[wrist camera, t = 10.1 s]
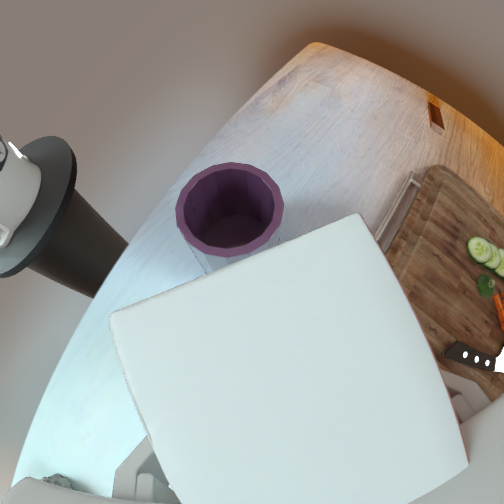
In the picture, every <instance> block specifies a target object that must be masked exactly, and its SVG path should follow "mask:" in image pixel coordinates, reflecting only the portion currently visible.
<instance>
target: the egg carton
mask: <svg viewBox="0 0 504 504" xmlns="http://www.w3.org/2000/svg"><path fill="white" fill-rule="evenodd" d="M41 481H44V482H47V483H50V484H53V485H57V486H60V487H64V488H68V489H72V487H71V482H70V481H69V480H68V479H67V478H66V477H61V476H60V475H59V474H58V473H57V474H55V475H52V476H50V477H48V478H47V477H43V478H42V479H41ZM72 490H73V489H72Z"/></svg>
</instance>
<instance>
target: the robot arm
mask: <svg viewBox="0 0 504 504" xmlns="http://www.w3.org/2000/svg"><path fill="white" fill-rule="evenodd" d="M9 144H10V145H11V146H10V145H9ZM9 144H8V143H7V142H5V141H4V140H3V139H2V137H1V135H0V248H5V247H6V246H7V245H8V243H9V242H10V240H11V237H12V235H13V233H14V231H15V230H16V229H17V227H18V226H19V225H20V224H21V222H22V221H23V220H24V219H25V217H26V216H27V214H28V213H29V211H30V209H31V207H32V206H33V204H34V202H35V199H36V197H37V194H38V192H39V188H40V184H41V171H40V168H39V167H38V166H37V165H35V164H33V163H32V162H30V160H29V158H28V157H27V156H25V155H23V156H22V154H21V153H20V152H19V151H18V150H17V149H16V148H15V147H14V146H13V145H12V144H11V143H10V142H9ZM440 370H441V373H442V376H443V379H444V381H445V384H446V386H447V389H448V391H449V394H450V397H451V400H452V402H453V405H454V408H455V411H456V414H457V418H458V421H459V424H460V428H461V431H462V435H463V438H464V442H465V446H466V449H467V453H468V457H469V466H468V467H467V468H465V469H464V470H463V471H461V472H460V473H458V474H457V475H455V476H454V477H452V478H451V479H449V480H448V481H446V482H445V483H443V484H442V485H440V486H438V487H437V488H435V489H433V490H432V491H430V492H428V493H426V494H424V495H423V496H421V497H419V498H417V499H415V500H413V501H411V502H409V503H407V504H504V393H503V394H502V395H501V396H499V397H498V398H497V399H495V400H494V401H493V402H491V401H490V400H489V398H488V397H487V396H486V394H485V393H484V392H483V391H482V389H481V388H480V387H479V386H478V384H477V383H476V382H474V381H471V380H468V379H465V378H463V377H460V376H457V375H455V374H452V373H450V372H447V371H444V370H442V369H440ZM168 485H169V482H168V480H167V479H166V476H165V474H164V472H163V470H162V468H161V466H160V463H159V461H158V459H157V456H156V454H155V452H154V449H153V447H152V445H151V443H150V440H149V438H148V436H146V437H145V438H144V439H143V440H142V441H141V443H140V444H139V445H138V446H137V447H136V448H135V449H134V450H133V452H132V453H131V454H130V455H129V456H128V457H127V458H126V459H125V460H124V462H123V463H122V464H121V465H120V466H119V467H118V468H117V469H116V472H115V479H114V485H113V493H112V498H111V497H105V496H99V495H94V494H89V493H84V492H80V491H76V490H72V489H68V488H64V487H60V486H57V485H53V484H50V483H47V482H44V481H41V480H38V479H35V478H32V477H26V478H24V479H22V480H21V481H19V482H18V483H17V484H15V485H14V486H13V487H12V488H11V489H9V490H8V491H7V492H6V494H5V495H4V497H3V499H2V502H1V504H180V500H179V499H178V497H177V496H176V494H175V492H174V491H173V490H172V489H170V488H169V487H168Z"/></svg>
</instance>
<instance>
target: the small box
mask: <svg viewBox="0 0 504 504" xmlns="http://www.w3.org/2000/svg"><path fill="white" fill-rule="evenodd" d="M109 324H110V331H111V334H112V338H113V342H114V345H115V349H116V353H117V356H118V359H119V362H120V365H121V368H122V371H123V374H124V377H125V381H126V384H127V386H128V389H129V392H130V395H131V397H132V400H133V402H134V405H135V407H136V410H137V412H138V415H139V417H140V419H141V422H142V424H143V427H144V429H145V431H146V434H147V436H148V438H149V440H150V443H151V445H152V447H153V449H154V452H155V454H156V456H157V459H158V461H159V463H160V466H161V468H162V470H163V472H164V474H165V476H166V479H167V480H168V482H169V484H170V486H171V487H172V489H173V491H174V492H175V494H176V496H177V497H178V499H179V500H180V502H181V503H182V504H407V503H409V502H411V501H413V500H415V499H417V498H419V497H421V496H423V495H424V494H426V493H428V492H430V491H432V490H433V489H435V488H437V487H438V486H440V485H442V484H443V483H445V482H446V481H448V480H449V479H451V478H452V477H454V476H455V475H457V474H458V473H460V472H461V471H463V470H464V469H465V468H467V467H468V466H469V457H468V453H467V449H466V446H465V442H464V438H463V435H462V431H461V428H460V424H459V421H458V418H457V414H456V411H455V408H454V405H453V402H452V400H451V397H450V394H449V391H448V389H447V386H446V384H445V381H444V379H443V376H442V373H441V370H440V367H439V365H438V362H437V360H436V357H435V355H434V353H433V351H432V348H431V346H430V344H429V341H428V339H427V336H426V334H425V332H424V330H423V328H422V325H421V323H420V321H419V319H418V317H417V315H416V313H415V311H414V309H413V307H412V305H411V303H410V301H409V299H408V297H407V295H406V293H405V291H404V289H403V287H402V285H401V284H400V282H399V280H398V278H397V276H396V274H395V272H394V271H393V269H392V267H391V265H390V263H389V261H388V260H387V258H386V256H385V254H384V252H383V251H382V249H381V247H380V245H379V244H378V242H377V240H376V239H375V237H374V235H373V234H372V232H371V231H370V229H369V227H368V226H367V224H366V223H365V221H364V219H363V217H362V215H361V214H360V213H354V214H351V215H349V216H347V217H344V218H342V219H340V220H337V221H335V222H333V223H330V224H328V225H325V226H323V227H321V228H318V229H316V230H313V231H311V232H308V233H306V234H304V235H301V236H299V237H296V238H294V239H291V240H289V241H286V242H284V243H282V244H279V245H277V246H274V247H272V248H269V249H267V250H265V251H262V252H260V253H257V254H255V255H252V256H250V257H247V258H245V259H243V260H240V261H238V262H235V263H233V264H230V265H228V266H226V267H223V268H221V269H218V270H216V271H213V272H211V273H209V274H206V275H204V276H201V277H199V278H196V279H194V280H191V281H189V282H187V283H184V284H182V285H179V286H177V287H174V288H172V289H169V290H167V291H164V292H162V293H159V294H157V295H154V296H152V297H150V298H147V299H145V300H142V301H140V302H137V303H135V304H132V305H130V306H127V307H125V308H122V309H120V310H117V311H115V312H113V313H111V314H110V319H109Z"/></svg>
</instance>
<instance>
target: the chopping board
mask: <svg viewBox="0 0 504 504" xmlns="http://www.w3.org/2000/svg"><path fill="white" fill-rule="evenodd" d="M414 175H415V173H414V172H413V171H410V172H409V174H408V176H407V178H406V180H405V182H404V184H403V185H402V187H401V189H400V191H399V193H398V195H397V196H396V198H395V200H394V202H393V204H392V205H391V207H390V209H389V211H388V212H387V214H386V216H385V218H384V219H383V221H382V223H381V224H380V226H379V228H378V230H377V231H376V233H375V235H374V237H375V239H376V240H377V242H378V241H379V240H380V238H381V236H382V234H383V233H384V231H385V229H386V228H387V226H388V224H389V222H390V220H391V219H392V217H393V215H394V213H395V211H396V210H397V208H398V206H399V204H400V202H401V200H402V198H403V197H404V195H405V193H406V191H407V189H408V187H409V185H410V183H411V182H412V183H413V184H414V185H416V186H417V187H418V188H419V189H418V191H417V193H416V196H415V198H414V200H413V202H412V204H411V206H410V208H409V210H408V212H407V214H406V216H405V218H404V220H403V222H402V223H401V225H400V227H399V229H398V231H397V233H396V235H395V237H394V238H393V240H392V242H391V244H390V246H389V247H388V249H387V251H386V253H385V256H386V258H387V260H388V261H389V263H390V265H391V267H392V269H393V271H394V272H395V274H396V276H397V278H398V280H399V282H400V284H401V285H402V287H403V289H404V291H405V293H406V295H407V297H408V299H409V301H410V303H411V305H412V307H413V309H414V311H415V313H416V315H417V317H418V319H419V321H420V323H421V325H422V328H423V330H424V332H425V334H426V336H427V339H428V341H429V344H430V346H431V348H432V351H433V353H434V355H435V357H436V360H437V362H438V365H439V367H440V369H442V370H444V371H447V372H450V373H452V374H455V375H457V376H460V377H463V378H465V379H468V380H471V381H474V382H476V383H477V384H478V386H479V387H480V388H481V389H482V391H483V392H484V393H485V394H486V396H487V397H488V398H489V400H490V401H491V402H493V401H494V400H495V399H497V398H498V397H499V396H501V395H502V394H503V393H504V218H503V217H502V216H501V215H500V214H499V213H498V212H497V211H496V210H495V209H494V208H493V207H492V206H491V205H490V204H489V203H488V202H487V201H486V200H485V199H484V198H483V197H482V196H481V195H480V194H479V193H477V192H476V191H475V190H474V189H473V188H472V187H471V186H470V185H468V184H467V183H466V182H465V181H464V180H463V179H461V178H460V177H459V176H458V175H457V174H455V173H454V172H453V171H452V170H450V169H449V168H447V167H445V166H442V165H433V166H432V167H431V168H430V169H429V170H428V172H427V173H426V174H425V176H424V178H423V181H422V183H421V184H419V183H418V182H417V181H415V180H414V179H413V177H414Z"/></svg>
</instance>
